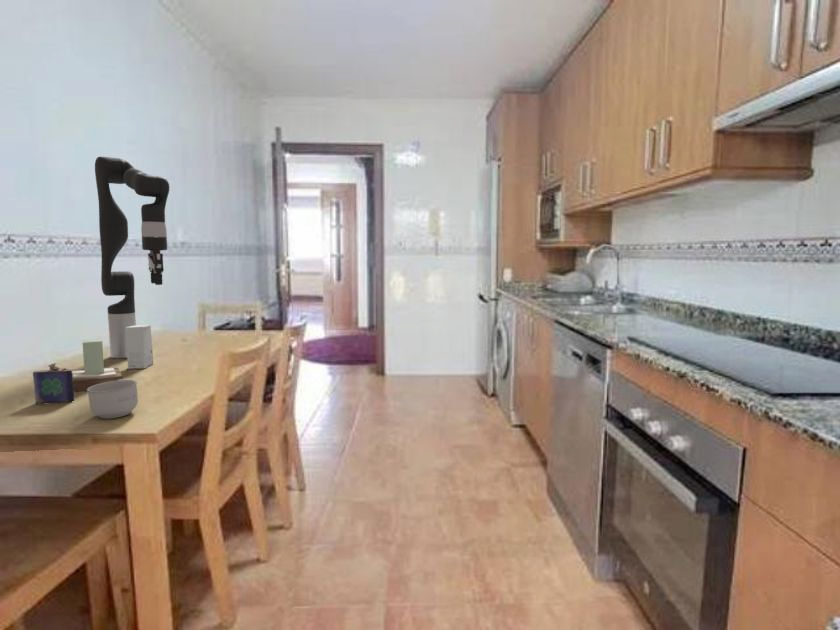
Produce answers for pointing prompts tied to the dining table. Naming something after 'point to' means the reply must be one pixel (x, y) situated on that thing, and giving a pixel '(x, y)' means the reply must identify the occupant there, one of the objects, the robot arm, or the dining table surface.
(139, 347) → the skincare box
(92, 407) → the teacup
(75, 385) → the base block
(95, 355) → the green block
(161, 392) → the dining table surface
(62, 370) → the flask
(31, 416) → the dining table surface
